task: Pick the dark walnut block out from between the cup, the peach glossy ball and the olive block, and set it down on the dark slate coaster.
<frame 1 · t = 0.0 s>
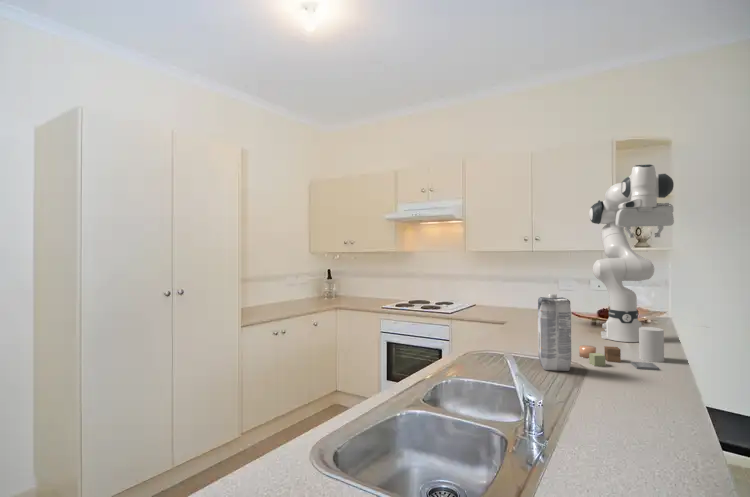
hand: (644, 237, 171), 48 cm above the countertop, tool pointing down, fingers open, 8 cm apart
peach glossy ball: (587, 356, 169), on the countertop
slate coaster: (644, 366, 154), on the countertop
walnut block: (612, 360, 163), on the countertop
juice carton: (554, 368, 153), on the countertop
olive block: (597, 365, 157), on the countertop
cup: (651, 359, 164), on the countertop
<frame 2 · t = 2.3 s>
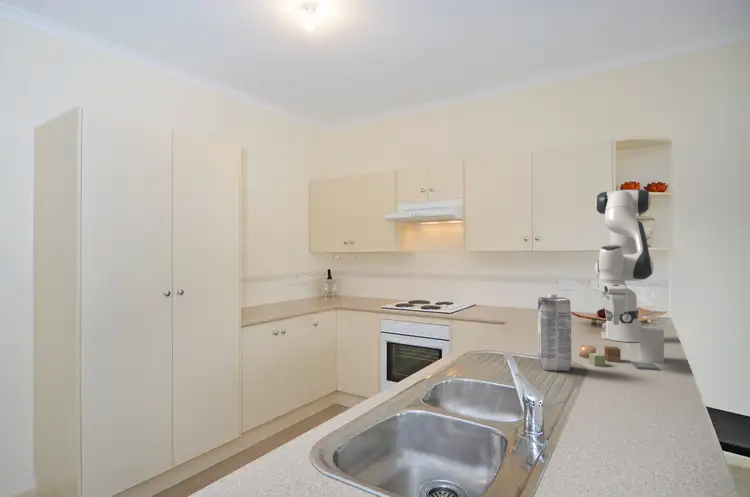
hand: (612, 322, 163), 15 cm above the countertop, tool pointing down, fingers open, 8 cm apart
nothing on the countertop moved.
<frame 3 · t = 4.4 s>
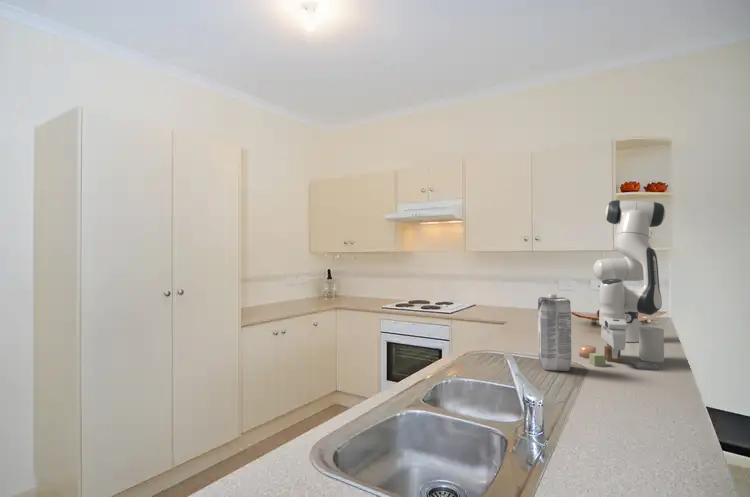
hand: (612, 356, 163), 2 cm above the countertop, tool pointing down, fingers closed on walnut block, 4 cm apart
walnut block: (612, 360, 163), on the countertop, touching gripper
everything else where it was.
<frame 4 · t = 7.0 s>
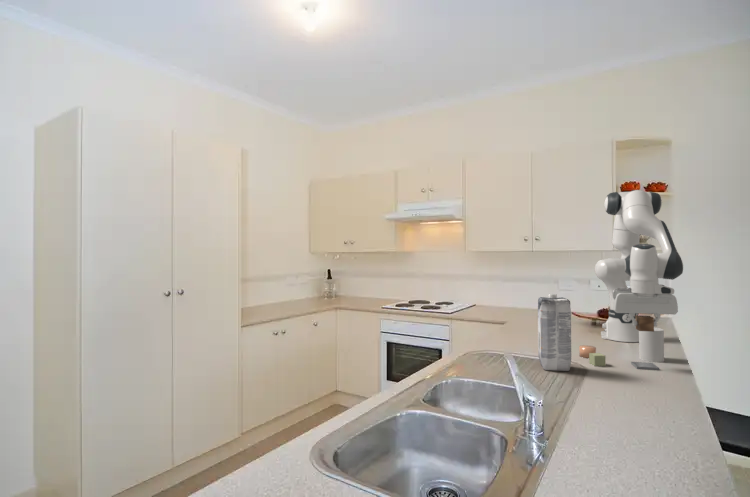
hand: (644, 325, 154), 15 cm above the countertop, tool pointing down, fingers closed on walnut block, 4 cm apart
walnut block: (644, 330, 154), point 14 cm above the countertop, touching gripper
everything else where it was.
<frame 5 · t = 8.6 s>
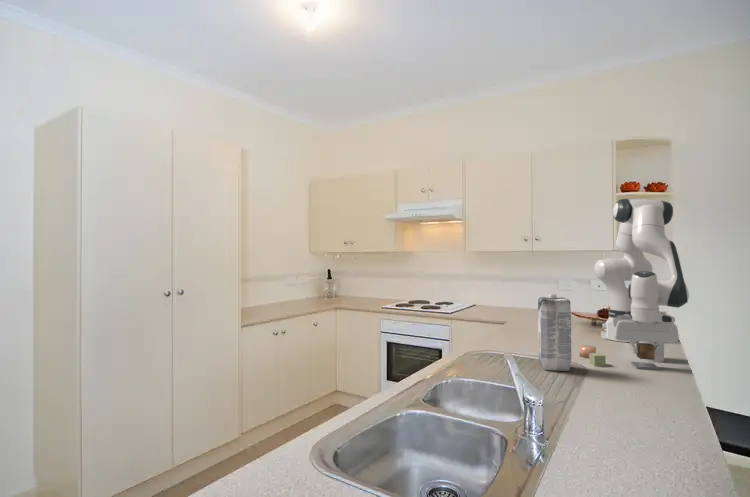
hand: (645, 353, 154), 5 cm above the countertop, tool pointing down, fingers closed on walnut block, 4 cm apart
walnut block: (645, 357, 154), point 3 cm above the countertop, touching gripper
everything else where it was.
when the fingers open (4 cm above the countertop, at t = 9.7 s): walnut block drops 1 cm, resting on slate coaster.
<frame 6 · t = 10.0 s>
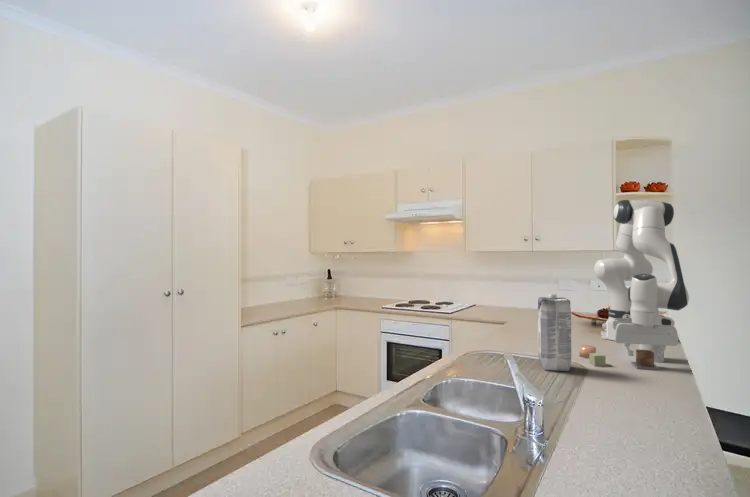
hand: (644, 356, 154), 4 cm above the countertop, tool pointing down, fingers open, 8 cm apart
walnut block: (644, 364, 154), point 1 cm above the countertop, touching slate coaster
everything else where it was.
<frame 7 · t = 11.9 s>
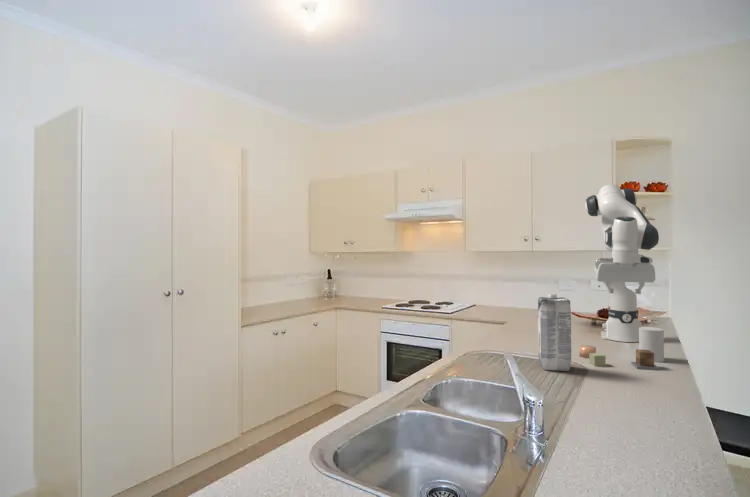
hand: (624, 293, 164), 26 cm above the countertop, tool pointing down, fingers open, 8 cm apart
nothing on the countertop moved.
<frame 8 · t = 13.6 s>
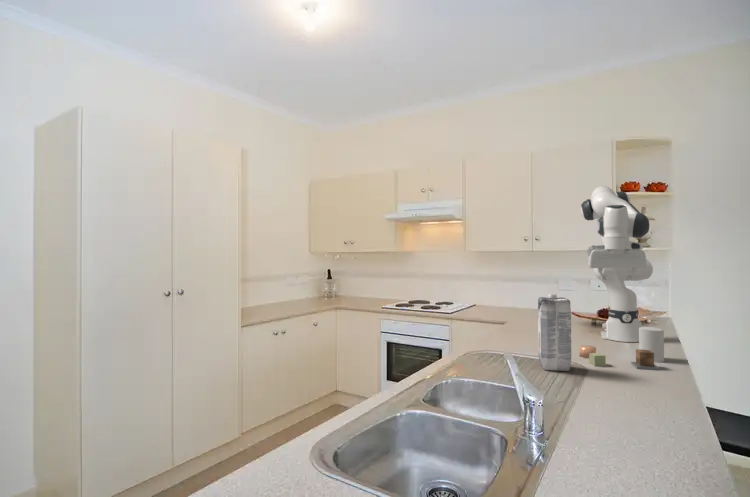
hand: (616, 279, 167), 31 cm above the countertop, tool pointing down, fingers open, 8 cm apart
nothing on the countertop moved.
at the end: walnut block inside the target area on the slate coaster (0.0 cm from its centre), point 0.8 cm above the slate coaster's base; the gripper is holding nothing; peach glossy ball moved 0.1 cm from its start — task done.
